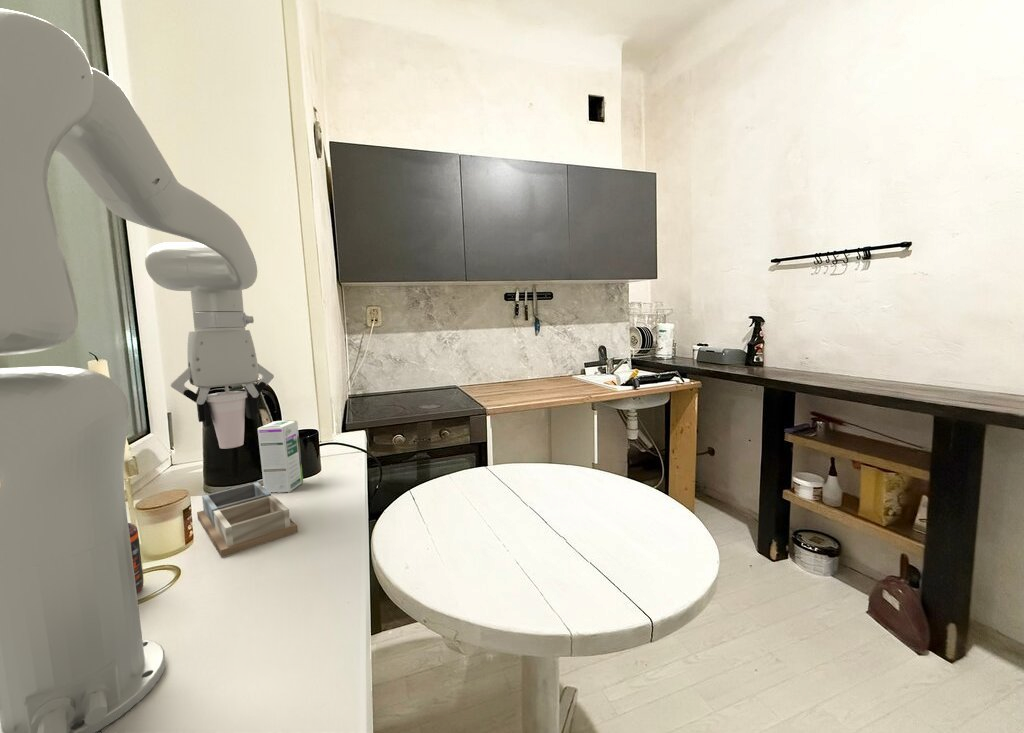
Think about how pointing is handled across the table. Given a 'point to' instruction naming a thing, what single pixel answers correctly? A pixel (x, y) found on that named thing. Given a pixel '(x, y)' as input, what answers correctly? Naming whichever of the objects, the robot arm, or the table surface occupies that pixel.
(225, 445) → the smoothie
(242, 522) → the organizer
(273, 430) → the syrup box
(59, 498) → the robot arm
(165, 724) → the table surface
